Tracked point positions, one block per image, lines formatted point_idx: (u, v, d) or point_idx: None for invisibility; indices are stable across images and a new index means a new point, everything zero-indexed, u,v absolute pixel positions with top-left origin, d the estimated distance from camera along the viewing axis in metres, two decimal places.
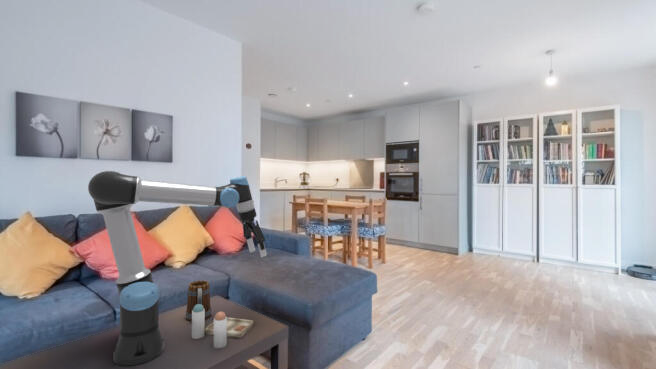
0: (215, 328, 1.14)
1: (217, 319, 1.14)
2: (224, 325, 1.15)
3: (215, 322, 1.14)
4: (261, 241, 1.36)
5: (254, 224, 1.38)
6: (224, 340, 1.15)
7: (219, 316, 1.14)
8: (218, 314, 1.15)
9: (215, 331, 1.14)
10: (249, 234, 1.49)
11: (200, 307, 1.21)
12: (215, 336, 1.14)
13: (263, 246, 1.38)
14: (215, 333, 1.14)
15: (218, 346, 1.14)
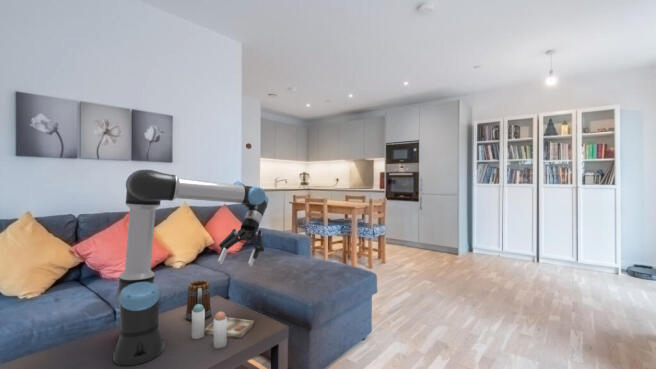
0: (215, 328, 1.14)
1: (217, 319, 1.14)
2: (224, 325, 1.15)
3: (215, 322, 1.14)
4: (262, 248, 1.31)
5: (261, 233, 1.37)
6: (224, 340, 1.15)
7: (219, 316, 1.14)
8: (218, 314, 1.15)
9: (215, 331, 1.14)
10: (230, 245, 1.36)
11: (200, 307, 1.21)
12: (215, 336, 1.14)
13: (257, 255, 1.30)
14: (215, 333, 1.14)
15: (218, 346, 1.14)
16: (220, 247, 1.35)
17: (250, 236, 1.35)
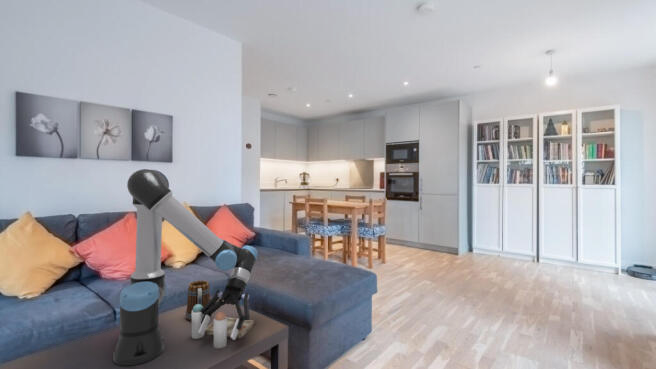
0: (215, 328, 1.14)
1: (217, 319, 1.14)
2: (224, 325, 1.15)
3: (215, 322, 1.14)
4: (247, 317, 1.16)
5: (247, 297, 1.22)
6: (224, 340, 1.15)
7: (219, 316, 1.14)
8: (218, 314, 1.15)
9: (215, 331, 1.14)
10: (213, 310, 1.21)
11: (199, 307, 1.21)
12: (215, 336, 1.14)
13: (241, 325, 1.15)
14: (215, 333, 1.14)
15: (218, 346, 1.14)
16: (202, 313, 1.20)
17: (235, 300, 1.20)
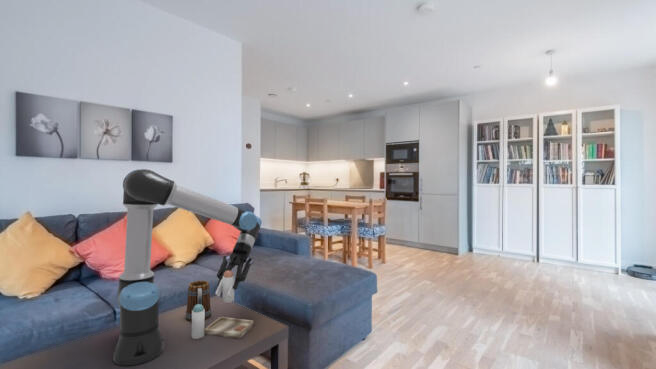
0: (224, 284, 1.26)
1: (226, 276, 1.26)
2: None
3: (224, 279, 1.26)
4: (243, 278, 1.28)
5: (250, 261, 1.33)
6: (232, 295, 1.27)
7: (227, 273, 1.27)
8: (226, 272, 1.27)
9: (224, 287, 1.26)
10: None
11: (200, 307, 1.21)
12: (224, 291, 1.26)
13: (237, 286, 1.27)
14: (224, 289, 1.26)
15: (226, 301, 1.26)
16: None
17: (238, 262, 1.33)
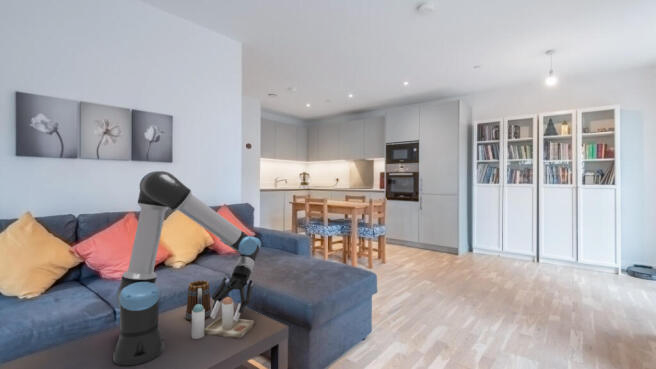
0: (223, 311, 1.26)
1: (225, 303, 1.27)
2: (231, 309, 1.27)
3: (223, 306, 1.26)
4: (248, 302, 1.28)
5: (251, 284, 1.34)
6: (231, 322, 1.27)
7: (227, 300, 1.27)
8: (226, 299, 1.27)
9: (223, 314, 1.26)
10: (223, 296, 1.33)
11: (200, 307, 1.21)
12: (223, 318, 1.26)
13: (243, 309, 1.27)
14: (223, 316, 1.26)
15: (226, 328, 1.26)
16: (213, 299, 1.32)
17: (240, 286, 1.33)
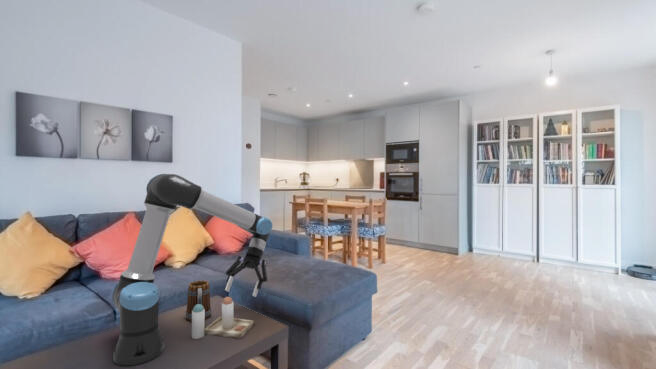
0: (223, 311, 1.26)
1: (225, 303, 1.26)
2: (231, 309, 1.27)
3: (223, 306, 1.26)
4: (265, 279, 1.40)
5: (264, 263, 1.45)
6: (231, 322, 1.27)
7: (226, 300, 1.27)
8: (226, 299, 1.27)
9: (223, 314, 1.26)
10: (236, 272, 1.46)
11: (200, 307, 1.21)
12: (223, 318, 1.26)
13: (260, 286, 1.40)
14: (223, 316, 1.26)
15: (226, 328, 1.26)
16: (227, 274, 1.46)
17: (254, 266, 1.44)
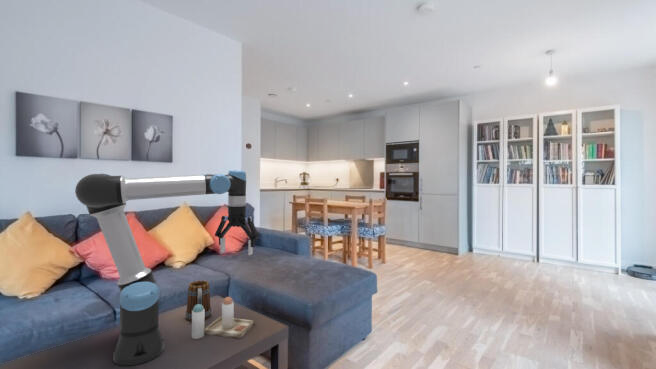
0: (223, 311, 1.26)
1: (225, 303, 1.26)
2: (231, 309, 1.27)
3: (223, 306, 1.26)
4: (257, 237, 1.35)
5: (250, 220, 1.36)
6: (231, 322, 1.27)
7: (227, 301, 1.26)
8: (226, 299, 1.27)
9: (223, 314, 1.26)
10: (225, 232, 1.40)
11: (200, 307, 1.21)
12: (223, 318, 1.26)
13: (254, 243, 1.37)
14: (223, 316, 1.26)
15: (226, 328, 1.26)
16: (217, 235, 1.40)
17: (241, 225, 1.36)
